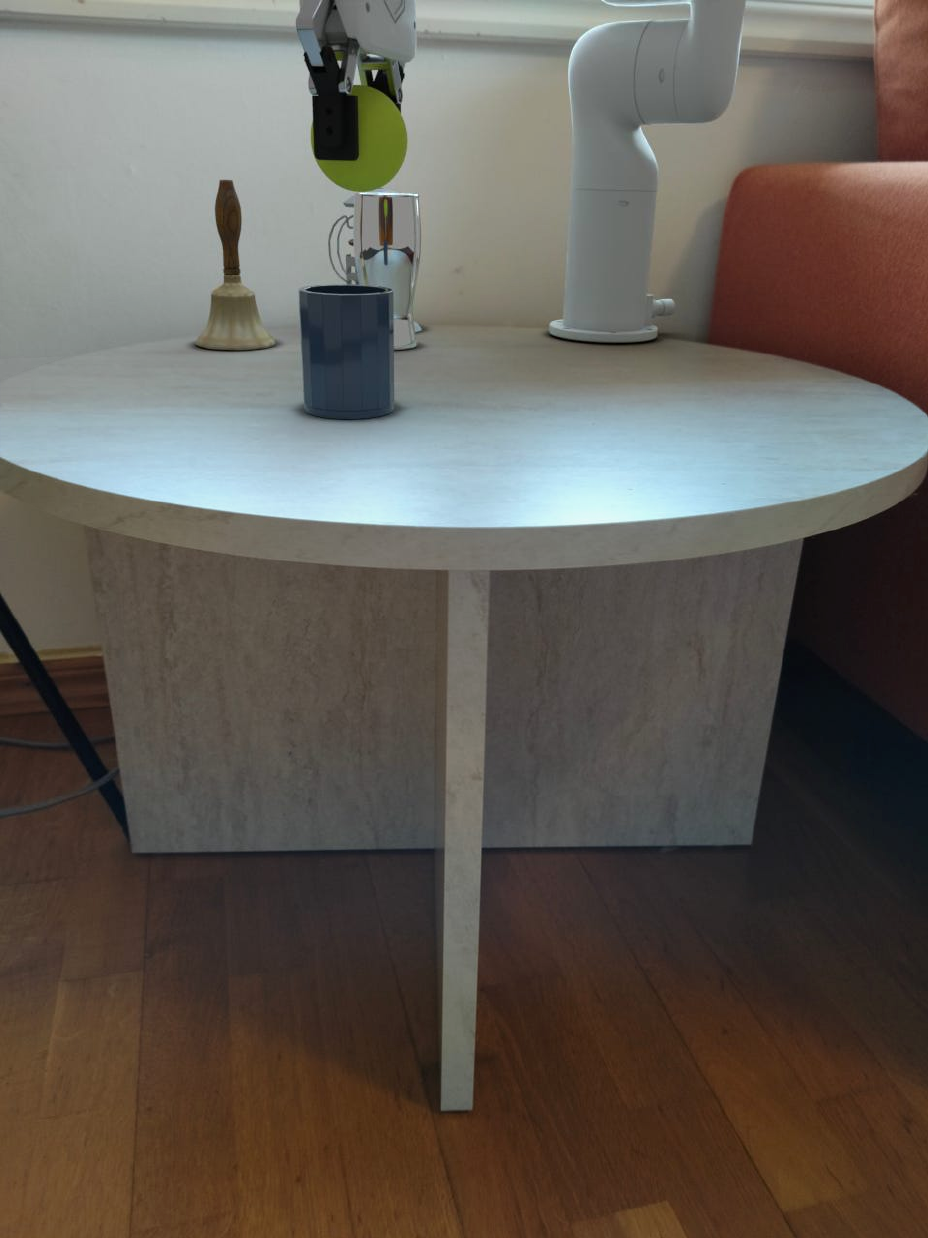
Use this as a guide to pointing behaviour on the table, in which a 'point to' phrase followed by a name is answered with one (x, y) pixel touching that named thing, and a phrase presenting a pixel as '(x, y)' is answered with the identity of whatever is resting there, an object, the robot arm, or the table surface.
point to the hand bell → (232, 287)
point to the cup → (347, 350)
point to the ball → (371, 144)
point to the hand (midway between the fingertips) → (359, 158)
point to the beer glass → (390, 252)
